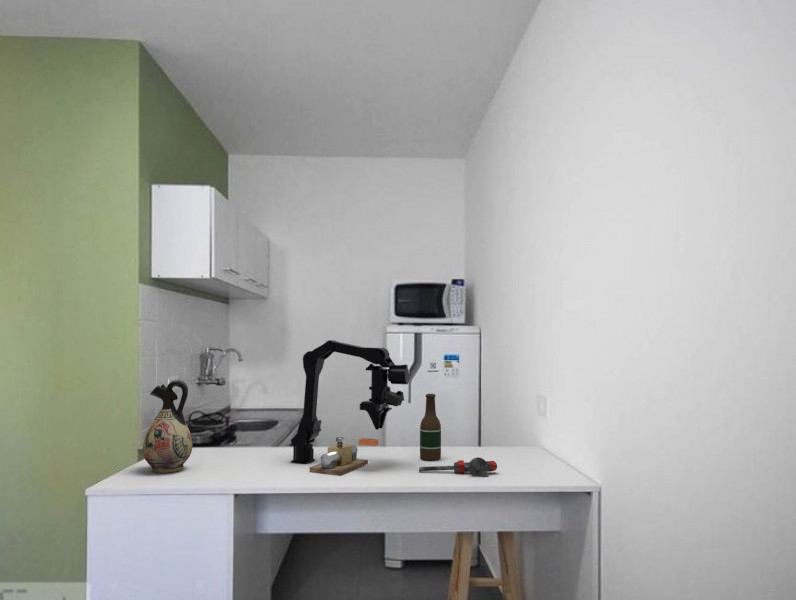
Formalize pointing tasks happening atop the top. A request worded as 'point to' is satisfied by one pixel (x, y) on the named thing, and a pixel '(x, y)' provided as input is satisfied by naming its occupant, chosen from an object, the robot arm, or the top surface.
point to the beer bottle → (430, 432)
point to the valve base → (339, 468)
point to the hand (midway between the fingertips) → (379, 428)
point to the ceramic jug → (168, 432)
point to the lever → (359, 441)
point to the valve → (467, 467)
